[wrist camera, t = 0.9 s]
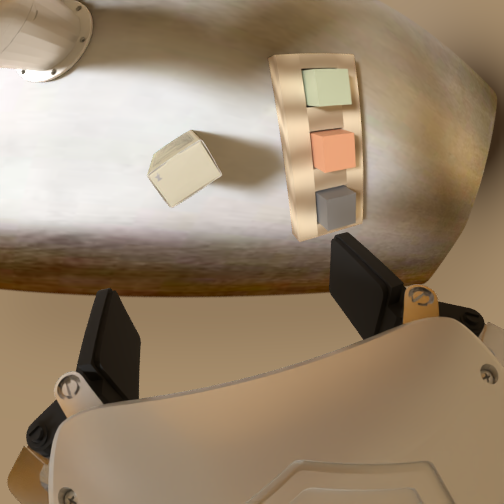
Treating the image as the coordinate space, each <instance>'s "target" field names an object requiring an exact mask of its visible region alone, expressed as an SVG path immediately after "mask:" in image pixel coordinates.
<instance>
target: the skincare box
mask: <svg viewBox="0 0 504 504" xmlns="http://www.w3.org/2000/svg"><path fill="white" fill-rule="evenodd" d="M221 176H222V173H221V171H220V169H219V167H218V165H217V163H216V162H215V160H214V158H213V156H212V155H211V153H210V151H209V150H208V148H207V146H206V145H205V143H204V142H203V140H202V139H201V138H200V137H199V136H198V135H197V134H195V132H193V131H192V130H189V131H188V132H186V133H184V134H183V135H181V136H179V137H178V138H176V139H175V140H173V141H172V142H170V143H169V144H167V145H166V146H164V147H163V148H162V149H160V150H159V151H157V152H156V153H155V154H154V155H153V158H152V161H151V164H150V168H149V171H148V174H147V177H148V178H149V180H150V181H151V183H152V184H153V186H154V187H155V189H156V190H157V191H158V193H159V194H160V195H161V197H162V198H163V199H164V201H165V202H166V203H167V204H168V206H169V207H170V208H173V207H175V206H177V205H178V204H180V203H182V202H183V201H185V200H186V199H188V198H189V197H191V196H192V195H194V194H195V193H197V192H198V191H200V190H201V189H203V188H204V187H206V186H207V185H209V184H210V183H212V182H213V181H215V180H216V179H218V178H219V177H221Z"/></svg>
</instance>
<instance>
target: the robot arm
mask: <svg viewBox="0 0 504 504" xmlns="http://www.w3.org/2000/svg"><path fill="white" fill-rule="evenodd" d="M80 9H81V10H80ZM79 10H80V11H79ZM92 30H93V19H92V15H91V13H90V11H89V10H88V8H87V7H86V6H85V5H83V4H82V3H80V2H78V1H75V0H62V1H61V0H0V68H9V69H16V70H17V72H18V74H19V75H20V76H21V77H22V78H24V79H25V80H27V81H31V82H46V81H49V80H53V79H55V78H57V77H59V76H60V75H62V74H63V73H65V72H66V71H68V70H69V69H70V68H71V67H72V66H73V65H74V64H75V63H76V62H77V61H78V60H79V59H80V57H81V56H82V54H83V53H84V51H85V50H86V48H87V46H88V44H89V41H90V38H91V36H92ZM85 39H86V40H85ZM83 40H85V41H84V42H83ZM56 71H57V72H56ZM55 72H56V74H55ZM403 284H404V283H403V282H402V281H401V280H400V279H399V278H398V277H397V276H396V275H395V274H394V273H393V272H392V271H390V270H389V269H388V268H387V267H386V266H385V265H384V264H383V263H382V262H381V261H380V260H379V259H378V258H376V257H375V256H374V255H373V254H372V253H371V252H370V251H369V250H368V249H367V248H365V247H364V246H363V245H362V244H361V243H360V242H359V241H357V240H356V239H355V238H354V237H353V236H352V235H351V234H349V233H348V232H346V233H342V234H338V235H335V237H334V239H332V241H331V262H330V283H329V290H330V293H331V295H332V297H333V298H334V299H335V301H336V302H337V303H338V305H339V306H340V307H341V309H342V310H343V311H344V313H345V314H346V316H347V317H348V318H349V320H350V321H351V323H352V324H353V326H354V327H355V328H356V330H357V331H358V333H359V334H360V335H361V337H362V338H363V340H362V341H359V342H357V343H354V344H351V345H349V346H346V347H343V348H341V349H338V350H335V351H333V352H330V353H327V354H324V355H322V356H318V357H315V358H313V359H309V360H306V361H303V362H300V363H297V364H294V365H290V366H287V367H284V368H281V369H277V370H274V371H270V372H267V373H263V374H260V375H256V376H252V377H248V378H244V379H240V380H236V381H232V382H228V383H224V384H219V385H215V386H210V387H206V388H200V389H196V390H190V391H185V392H179V393H174V394H168V395H162V396H156V397H149V398H142V399H139V365H140V345H141V342H140V336H139V334H138V332H137V330H136V329H135V327H134V325H133V323H132V321H131V320H130V317H129V315H128V314H127V312H126V310H125V308H124V306H123V304H122V302H121V300H120V298H119V296H118V294H117V292H116V291H112V289H111V288H108V289H104V290H99V291H98V292H97V294H96V298H95V301H94V304H93V307H92V310H91V314H90V318H89V321H88V324H87V328H86V331H85V335H84V339H83V342H82V346H81V351H80V355H79V359H78V364H77V369H76V372H68V373H66V374H64V375H63V376H61V377H60V378H59V379H58V381H57V383H56V384H55V388H54V394H55V398H56V399H57V400H55V401H54V403H52V404H51V405H50V406H49V407H48V408H47V409H46V410H45V411H44V412H43V413H42V414H41V415H40V416H39V417H38V418H37V419H36V420H35V421H34V422H33V423H32V424H31V425H30V426H29V428H28V431H27V435H26V438H27V443H28V446H27V448H26V447H25V446H24V447H23V449H22V451H21V452H20V454H19V456H18V458H17V460H16V462H15V464H14V466H13V467H12V470H11V471H10V473H9V476H8V479H7V480H8V481H7V482H8V488H9V490H10V492H11V493H12V494H13V496H14V497H15V498H16V499H17V500H18V501H19V502H20V503H21V504H504V329H502V328H500V327H498V326H496V325H494V324H492V323H490V322H488V323H487V324H485V323H484V319H483V317H482V316H481V315H480V314H479V313H478V312H477V311H475V310H473V309H471V308H466V307H461V306H456V305H452V304H447V303H443V302H438V298H437V295H436V293H435V292H434V291H433V290H432V289H431V288H429V287H427V286H424V285H418V284H416V285H411V286H409V287H408V288H407V289H406V288H405V287H404V286H403Z"/></svg>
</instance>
